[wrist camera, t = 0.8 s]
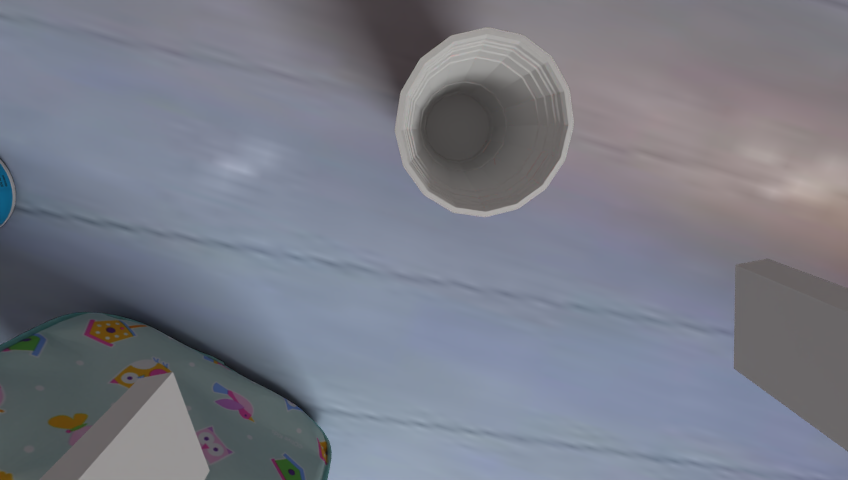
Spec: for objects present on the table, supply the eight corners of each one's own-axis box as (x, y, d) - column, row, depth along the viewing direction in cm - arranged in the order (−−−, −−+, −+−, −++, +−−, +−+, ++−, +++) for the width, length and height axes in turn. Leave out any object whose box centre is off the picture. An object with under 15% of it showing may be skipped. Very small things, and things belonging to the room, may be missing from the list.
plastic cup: (493, 210, 39) (533, 243, 28) (377, 167, 38) (368, 182, 26) (543, 89, 37) (610, 70, 25) (423, 39, 36) (434, -7, 24)
